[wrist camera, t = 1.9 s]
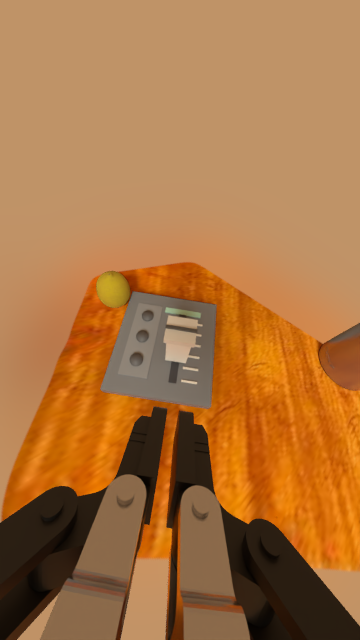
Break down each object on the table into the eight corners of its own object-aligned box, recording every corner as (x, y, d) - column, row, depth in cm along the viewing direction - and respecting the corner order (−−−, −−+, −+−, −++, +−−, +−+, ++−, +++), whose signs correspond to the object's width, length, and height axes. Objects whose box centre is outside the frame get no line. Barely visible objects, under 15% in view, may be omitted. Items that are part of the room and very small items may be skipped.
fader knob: (190, 345, 33) (198, 318, 25) (187, 365, 31) (196, 343, 24) (166, 341, 33) (167, 313, 25) (162, 361, 31) (163, 338, 24)
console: (214, 310, 40) (217, 302, 37) (208, 408, 30) (211, 406, 28) (133, 297, 39) (132, 289, 37) (103, 392, 30) (99, 388, 28)
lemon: (118, 287, 40) (110, 256, 34) (138, 302, 39) (134, 274, 32) (96, 304, 38) (83, 274, 31) (116, 321, 37) (107, 294, 30)
